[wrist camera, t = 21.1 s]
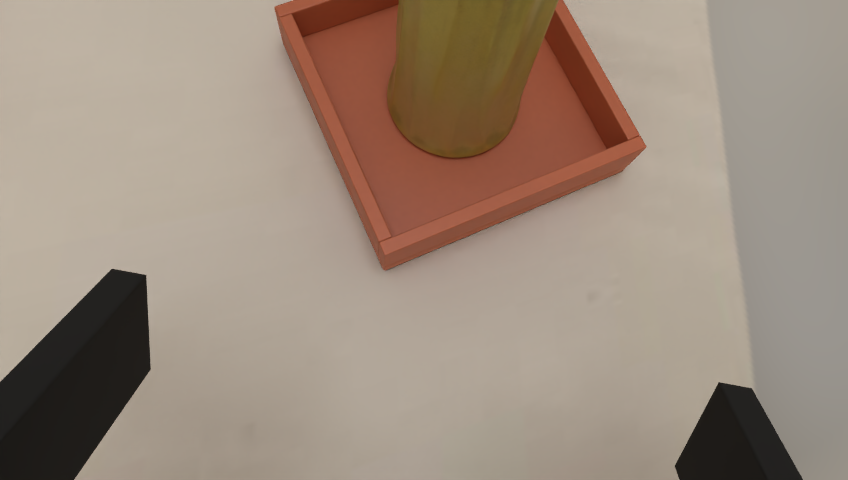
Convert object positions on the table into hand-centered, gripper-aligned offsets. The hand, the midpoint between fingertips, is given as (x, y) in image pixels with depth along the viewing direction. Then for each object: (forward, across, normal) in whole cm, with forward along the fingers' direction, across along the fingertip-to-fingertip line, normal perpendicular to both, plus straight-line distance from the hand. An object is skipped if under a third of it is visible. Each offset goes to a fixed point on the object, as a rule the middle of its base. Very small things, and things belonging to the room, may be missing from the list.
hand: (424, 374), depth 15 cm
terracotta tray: (+18, 0, +1) cm, 18 cm away
